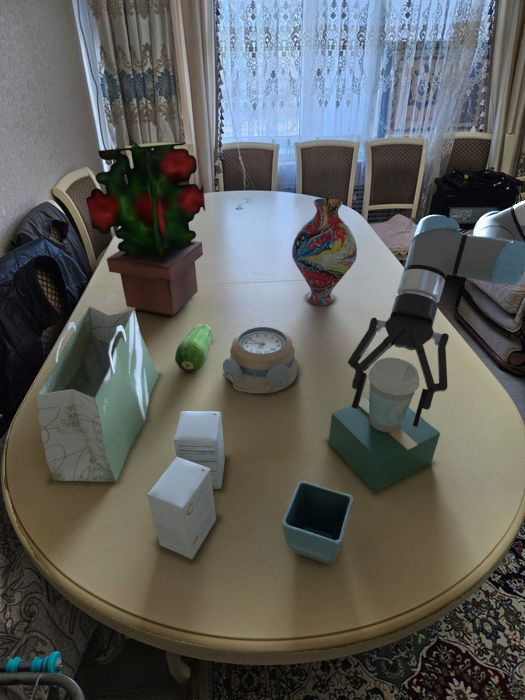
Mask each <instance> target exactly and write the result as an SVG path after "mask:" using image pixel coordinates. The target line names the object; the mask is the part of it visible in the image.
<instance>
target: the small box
mask: <svg viewBox="0 0 525 700" xmlns="http://www.w3.org/2000/svg"><path fill="white" fill-rule="evenodd" d="M146 497H147V499H148V504H149V508H150V511H151V515H152V520H153V524H154V529H155V531H156V535H157V540H158V544H159V545H160V546H161V547H163V548H165V549H168V550H170V551H172V552H175V553H176V554H179V555H181V556H183V557H185V558H188V559H190V560H193V559H194V558H195V556H196V554H197V553H198V551H199V550H200V548H201V546H202V544H203V543H204V541H205V540H206V538H207V536H208V534H209V532H210V531H211V529H212V528H213V526H214V524H215V523H216V521H217V514H216V506H215V497H214V489H213V487H212V478H211V469H210V468H207V467H204V466H202V465H199V464H196V463H193V462H190V461H188V460H185V459H182V458H179V457H177V456H176V457H175V458H174V459H173V460H172V462H171V463H170V464H169V466H167V468H166V469H165V471H163V473H162V474H161V476H160V477H159V479H158V480H156V482H155V484H154V485H153V486H152V487H151V488H150V490H149V491H148V492H147V494H146Z"/></svg>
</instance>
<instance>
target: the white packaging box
mask: <svg viewBox="0 0 525 700" xmlns="http://www.w3.org/2000/svg"><path fill="white" fill-rule="evenodd" d="M174 433H175V434H174V437H173V443H174V444H173V445H174V448H175V455H176V457H179V458H182V459H185V460H188V461H190V462H193V463H196V464H199V465H202V466H204V467H207V468H210V469H211V478H212V487H213V490H220V489H222V485H223V479H224V471H225V470H224V469H225V461H226V457H225V446H224V433H223V421H222V411H207V410H206V411H204V410H203V411H201V410H200V411H199V410H195V411H193V410H186V411H184V410H183V411H180V414H179V418H178V422H177V426H176V429H175V432H174Z"/></svg>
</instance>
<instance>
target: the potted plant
mask: <svg viewBox="0 0 525 700" xmlns="http://www.w3.org/2000/svg"><path fill="white" fill-rule="evenodd" d="M130 142H131V143H132V145H131V147H122V148H112V149H111V148H110V149H102V150H97V153H98V157H99V158H100V159H101V160H103V161H115V162H113V163H111V165H110V168H109V170H108V171H100V172H98V173H97V174H96V175H95V181H96V182H97V184H100V185H104V188H105V192H106V193H104V192H103V189H101V188H99V187H96V188H93V189H92V190H91V191H90V195H89V196H87V197H86V198H85V201H86V205H87V210H88V214H89V220H90V223H91V227H92V229H93V230H97V231H98V232H99V233H100V234H101V235H105V236H106V235H109V234H110V232H111V230H112V228H113V227H119V228H117V229H116V230H115V232H114V236H115V237H116V238H117V239H119V240H122V241H119V243H118V244H117V249H118V251H117V252H115V253H113V254H112V255H110V256H109V257H107V258H106V262H107V267H108V272H109V273H113V274H119V275H120V279H121V284H122V289H123V290H122V291H123V294H124V299H125V304H126V307H128V308H134V309H136V310H137V311H139V312H145V313H151V314H156V315H162V316H167V317H173V316H174V315H176V313H178V312H179V310H180V309H181V308H182V307H183V306H185V304H186V303H187V302H188V301H190V299H192V298H193V296H195V294H197V293H198V280H197V269H196V261H197V260H199V259H200V258H201V257H202V256H204V251H203V242H202V241H195V239H196V237H197V232H196V231H195V230H191V229H190V222H192V221H193V220H194V219H195V216H196V215H198V214H199V213H200V212H201V208H202V209H203V211H204V212H206V205H205V204H206V201H205V189H204V184H202V185H201V188H200V187H199V186H198V184H196V183H187V184H179V183H186V182H189V181H190V180H191V176H192V175H193V174H195V173H196V172H197V170H198V164H197V158H196V157H195V155H191V154H190V153H189V151H188V150H187V149H186V148H182V146H184V145H185V144H186V143H187V142H177V143H168V144H158V145H157V144H156V145H145V146H141V145H139V144H138V143H136V142H135V141H134V140H132V139H130ZM178 146H181V148H175V147H178ZM152 149H153V150H152ZM124 151H125V152H126V151H130V153H131V155H130V156H131V160H132V167H131V161H130V158H129V156H128V155H127V154H124V153H121V152H124ZM125 175H126V177H127V183H126V179H125Z"/></svg>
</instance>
